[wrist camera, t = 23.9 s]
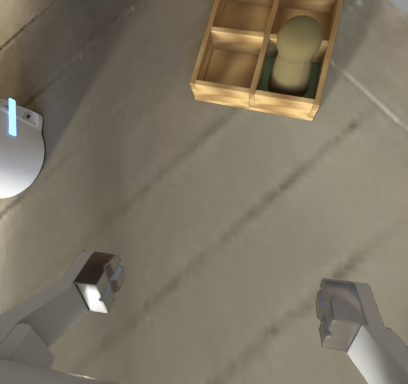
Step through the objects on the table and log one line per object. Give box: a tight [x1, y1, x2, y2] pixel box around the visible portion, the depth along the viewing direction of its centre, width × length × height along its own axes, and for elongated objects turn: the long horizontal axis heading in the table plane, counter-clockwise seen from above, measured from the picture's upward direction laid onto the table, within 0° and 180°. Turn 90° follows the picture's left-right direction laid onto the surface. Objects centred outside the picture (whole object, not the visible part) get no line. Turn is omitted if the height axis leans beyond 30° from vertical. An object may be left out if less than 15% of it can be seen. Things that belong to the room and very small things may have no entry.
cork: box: [268, 15, 323, 97], centre depth 36 cm, size 6×6×11 cm
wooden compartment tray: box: [190, 0, 344, 121], centre depth 42 cm, size 18×18×5 cm
